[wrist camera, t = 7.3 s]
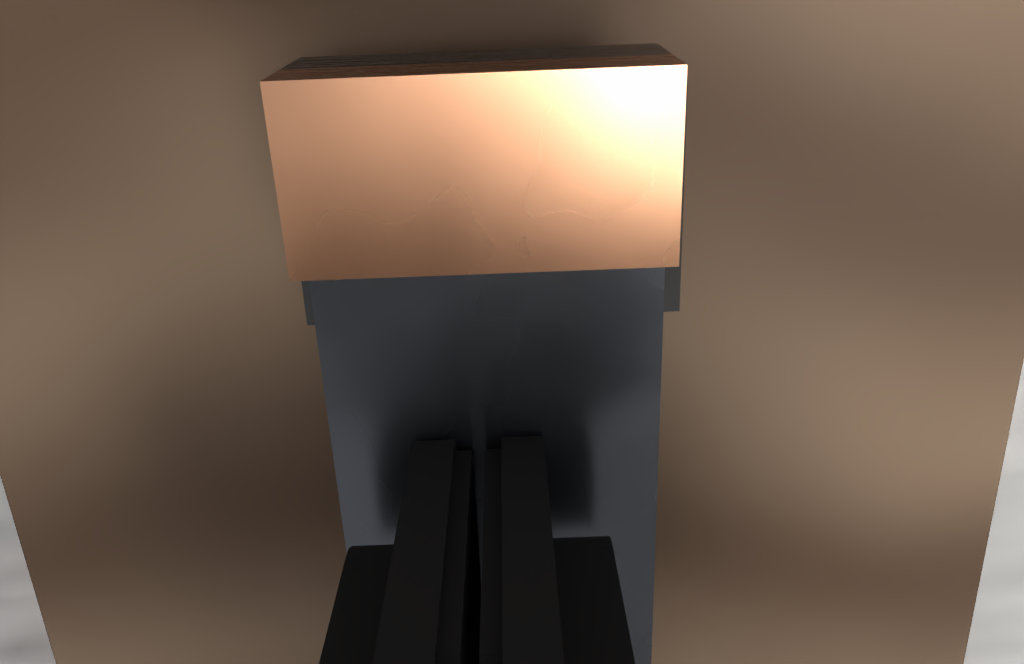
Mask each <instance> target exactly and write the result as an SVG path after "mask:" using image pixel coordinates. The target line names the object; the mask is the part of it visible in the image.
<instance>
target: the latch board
mask: <svg viewBox="0 0 1024 664" xmlns="http://www.w3.org/2000/svg"><path fill="white" fill-rule="evenodd" d="M647 43H658V44H659V45H660V46H662V47H663V48H665V49H666V50H668V51H669V52H670V53H672V54H673V55H675V56H676V57H677V58H679V59H680V60H682V61H683V62H685V63H686V64H687V86H686V110H685V134H684V158H683V182H682V206H681V230H680V254H679V267H665V284H664V313H663V341H662V370H661V399H660V427H659V456H658V485H657V513H656V542H655V571H654V599H653V628H652V657H651V664H963V662H964V657H965V652H966V647H967V642H968V637H969V632H970V627H971V622H972V617H973V612H974V607H975V602H976V596H977V591H978V586H979V581H980V576H981V571H982V566H983V561H984V556H985V551H986V546H987V541H988V536H989V531H990V526H991V521H992V516H993V511H994V506H995V500H996V495H997V490H998V485H999V480H1000V475H1001V470H1002V465H1003V460H1004V455H1005V450H1006V445H1007V440H1008V435H1009V430H1010V425H1011V420H1012V415H1013V410H1014V404H1015V399H1016V394H1017V389H1018V384H1019V379H1020V374H1021V369H1022V364H1023V359H1024V0H0V475H1V479H2V482H3V485H4V489H5V492H6V496H7V499H8V502H9V506H10V509H11V512H12V516H13V519H14V523H15V526H16V529H17V533H18V536H19V540H20V543H21V546H22V550H23V553H24V556H25V560H26V563H27V567H28V570H29V573H30V577H31V580H32V583H33V587H34V590H35V594H36V597H37V600H38V604H39V607H40V610H41V614H42V617H43V621H44V624H45V627H46V631H47V634H48V637H49V641H50V644H51V648H52V651H53V654H54V658H55V661H56V664H319V661H320V657H321V653H322V649H323V645H324V641H325V637H326V633H327V629H328V625H329V621H330V617H331V613H332V609H333V606H334V602H335V598H336V594H337V590H338V586H339V582H340V578H341V574H342V570H343V566H344V562H345V558H346V555H347V552H346V545H345V538H344V531H343V524H342V516H341V509H340V502H339V495H338V488H337V480H336V473H335V466H334V459H333V452H332V444H331V437H330V430H329V423H328V416H327V409H326V401H325V394H324V387H323V380H322V373H321V365H320V358H319V351H318V344H317V337H316V329H315V322H314V315H313V308H312V301H311V294H310V286H309V281H289V275H288V268H287V262H286V255H285V248H284V242H283V235H282V228H281V221H280V215H279V208H278V201H277V194H276V188H275V181H274V174H273V168H272V161H271V154H270V147H269V141H268V134H267V127H266V120H265V114H264V107H263V100H262V94H261V87H260V81H261V80H263V79H265V78H266V77H268V76H270V75H271V74H273V73H275V72H276V71H278V70H280V69H281V68H283V67H285V66H286V65H288V64H290V63H291V62H293V61H295V60H296V59H298V58H300V57H320V56H345V55H371V54H396V53H421V52H446V51H471V50H496V49H521V48H546V47H571V46H597V45H622V44H647Z"/></svg>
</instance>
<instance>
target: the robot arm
mask: <svg viewBox="0 0 1024 664" xmlns="http://www.w3.org/2000/svg"><path fill="white" fill-rule="evenodd" d="M319 664H635V659H634V654H633V649H632V644H631V638H630V633H629V628H628V623H627V618H626V612H625V607H624V602H623V597H622V591H621V586H620V581H619V576H618V570H617V565H616V560H615V555H614V549H613V545H612V541H611V538H610V536H593V537H568V538H553V534H552V523H551V512H550V502H549V491H548V480H547V469H546V458H545V447H544V437H543V436H532V437H506V438H501V449H487V450H485V466H484V502H483V538H482V575H481V577H480V562H479V546H478V530H477V514H476V498H475V483H474V467H473V454H472V450H461V451H457V449H456V441H455V440H429V441H413V442H412V444H411V449H410V455H409V460H408V466H407V472H406V477H405V483H404V489H403V494H402V500H401V506H400V511H399V517H398V523H397V528H396V534H395V540H394V544H388V545H362V546H351V547H350V548H349V549H348V552H347V555H346V558H345V562H344V566H343V570H342V574H341V578H340V582H339V586H338V590H337V594H336V598H335V602H334V606H333V609H332V613H331V617H330V621H329V625H328V629H327V633H326V637H325V641H324V645H323V649H322V653H321V657H320V661H319Z"/></svg>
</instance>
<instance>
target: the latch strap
mask: <svg viewBox="0 0 1024 664" xmlns="http://www.w3.org/2000/svg"><path fill="white" fill-rule="evenodd" d="M686 86H687V64H686V63H685V62H683V61H682V60H680V59H679V58H677V57H676V56H675V55H673V54H672V53H670V52H669V51H668V50H666V49H665V48H663V47H662V46H660V45H659V44H658V43H647V44H622V45H597V46H571V47H546V48H521V49H496V50H471V51H446V52H421V53H396V54H371V55H345V56H320V57H300V58H298V59H296V60H295V61H293V62H291V63H290V64H288V65H286V66H285V67H283V68H281V69H280V70H278V71H276V72H275V73H273V74H271V75H270V76H268V77H266V78H265V79H263V80H261V81H260V87H261V94H262V100H263V107H264V114H265V120H266V127H267V134H268V141H269V147H270V154H271V161H272V168H273V174H274V181H275V188H276V194H277V201H278V208H279V215H280V221H281V228H282V235H283V242H284V248H285V255H286V262H287V268H288V275H289V281H309V286H310V294H311V301H312V308H313V315H314V322H315V329H316V337H317V344H318V351H319V358H320V365H321V373H322V380H323V387H324V394H325V401H326V409H327V416H328V423H329V430H330V437H331V444H332V452H333V459H334V466H335V473H336V480H337V488H338V495H339V502H340V509H341V516H342V524H343V531H344V538H345V545H346V552H348V549H349V548H350V547H351V546H362V545H388V544H394V540H395V534H396V528H397V523H398V517H399V511H400V506H401V500H402V494H403V489H404V483H405V477H406V472H407V466H408V460H409V455H410V449H411V444H412V442H413V441H429V440H455V441H456V449H457V451H461V450H472V454H473V467H474V483H475V498H476V514H477V530H478V546H479V562H480V577H481V575H482V538H483V502H484V466H485V450H487V449H501V438H506V437H532V436H543V437H544V447H545V458H546V469H547V480H548V491H549V502H550V512H551V523H552V534H553V538H568V537H593V536H610V538H611V541H612V545H613V549H614V555H615V560H616V565H617V570H618V576H619V581H620V586H621V591H622V597H623V602H624V607H625V612H626V618H627V623H628V628H629V633H630V638H631V644H632V649H633V654H634V659H635V664H651V657H652V628H653V599H654V571H655V542H656V513H657V485H658V456H659V427H660V399H661V370H662V341H663V313H664V284H665V267H679V254H680V230H681V206H682V182H683V158H684V134H685V110H686Z"/></svg>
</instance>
